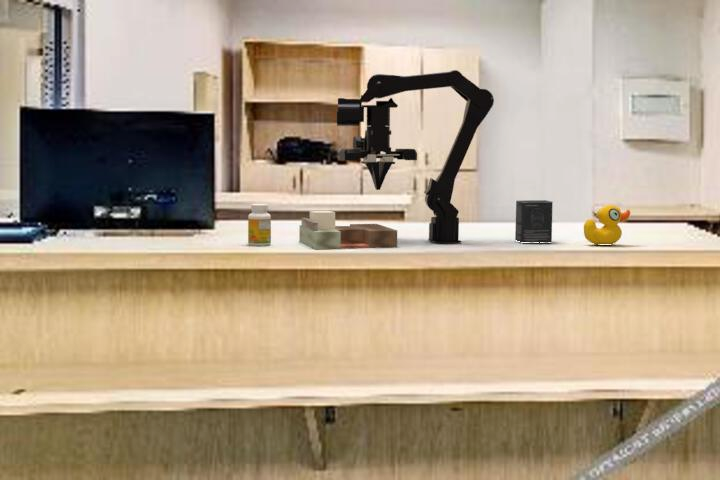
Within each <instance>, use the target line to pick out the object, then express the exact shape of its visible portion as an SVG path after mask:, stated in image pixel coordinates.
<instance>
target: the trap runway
mask: <svg viewBox="0 0 720 480" xmlns="http://www.w3.org/2000/svg"><path fill="white" fill-rule="evenodd" d="M300 220H301V224H300V225H299V239H298V240H299V241H298V242H300V243H301V244H304V245H306V246H308V247H310V248H312V249H314V250H336V249H337V250H339V249H340V250H341V248H348V249H375V248H376V249H377V248H379V249H381V248H385V249H386V248H397V247H398V230H397V229H395V228H391V227H388V226H384V225H381V224H378V223H352V224H351V223H350V224H349V225H339V226H338V225H335V229H321V230H318V223H317V222H315V221H312V220H310V218H307V217H301V219H300Z"/></svg>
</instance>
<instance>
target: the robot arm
mask: <svg viewBox="0 0 720 480" xmlns="http://www.w3.org/2000/svg"><path fill="white" fill-rule="evenodd" d="M441 88H442V89H443V88H451V89H452V90H454V92H456V93H457V94H458V95H459V96H460V97H461V98H462V99H463V100H464V101H466V103H465V106H464V107H465V108H464V113H463V116H462V117H463V118H462V123H461V124H460V125H461V126H460V127H459V130H458V132H457V135H456V137H455V139H454V141H453V144H452V146H451V148H450V150H449V153H448V155H447V157H446V158H445V159H446V160H445V161H444V164H443V167H442V169H441V171H440V174H439V175H437V178H436V179H433V178H432V177H430V178H429V181H428V186H427V188H426V189H425V190H424V192H423V193H424V194H425V196H424V202H425V204H426V206H427V208H428V209H430V211H432V212H433V213H432V214H433V215H434V216H431V218H430V222H429V224H428V240H427V241H429V242H433V243H434V244H451V243H452V244H455V243H456V244H459V243H462V240H459V235H460V234H459V232H460V231H459V230H460V229H459V228H460V226H459V225H460V217H458V215H459V213H460V212H459V210H458V209H457V208H456V207H455V205H454V204H452V202H451V201H452V196H453V192H454V186H455V181H456V179H457V176H458V173H459V171H460V169H461V166H462V165H463V162H464V160H465V158H466V155H467V152H468V150H469V148H470V146H471V143H472V141H473V140H474V136H475V134H476V132H477V129H478V128H479V126H480V125H481V123H482V122H483V121H484V119H485V118H486V117H487V116H488V114H489V112H490V111H491V109H492V108H493V106H494V102H495V99H494V95H493V93H492V92H491V91H489V90H488V89H486V88H480V87H479V86H477V84H475V83H474V82H473V81H471V80H470V79H468V78H467V77H466V76H464V74H462V73H461V71H459V70H456V69H453V70H451V71H450V70H449V71H443V72H432V73H424V74H415V75H414V74H413V75H396V74H394V75H393V74H384V73H376V74H374V75H371V77H369V79H368V81H367V83H366V91H365V92H364V93H363V94H361V95H360V98H343V97H338V98H337V110H336V126H338V127H360V123H365V108H366V130H365V131H364V132H365V133H364V137H362V136H359V135H358V136H355V135H354V136H353V138H352V148H340V150H339V152H338V160H339V161H353V162H355V161H358V162H359V160H360V159H362V160H361V161H360V163H361V164H362V165H363V164H364V165H365V166H366V168H367V170H368V171H369V174H370V177H371V179H372V183H373V185H374V188H375V190H376V191H380V190H381V188H382V185H383V184H384V181H385V179H386V176H387V174H388V172H389V170H390V169H391V167H392V165H396V161H394V159H396V160H398V161H399V160H402V161H403V160H405V161H418V153H417V150H416V149H415V148H395V150H394V151H393V150H392V147H390V146H391V141H390V140H391V139H390V138H391V135H392V130H391V124H390V123H391V109H394V108H395V109H397V108H398V107H399V105H398V104H397V102H395V101H394V99H393V98H392V97H391V96H394V95H398V94H401V93H405V92H411V91H421V90H430V89H431V90H432V89H441ZM387 97H390V98H389V99H388V100H378V99H384V98H387ZM374 99H377V100H376V102H375V104H370V105H369V104H368V105H367V104H365V103H370V102H371V101H373V100H374ZM363 103H364V104H363ZM381 152H382V153H381ZM377 159H379V160H377Z"/></svg>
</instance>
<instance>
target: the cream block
mask: <svg viewBox="0 0 720 480" xmlns="http://www.w3.org/2000/svg"><path fill="white" fill-rule="evenodd" d="M309 219H310V220H312V221H315V222H317V223H318V230H321V229H335V226H336V212H335V211H332V210H309Z"/></svg>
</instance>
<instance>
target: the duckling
mask: <svg viewBox="0 0 720 480" xmlns="http://www.w3.org/2000/svg"><path fill="white" fill-rule="evenodd" d="M630 215H631V211H630V209H626V211H624V212H622V211H621V209H620V208H619V207H618V206H616V205H613V204H611V205H610V204H608V205H605V206H604V207H602V208H601V209H599V210H597V211H596V216H597V218H598V220H599V222H600V223H601V224H602V225H603V226H602V227H600V228H598V227H597V225H596V222H595V220H594V219H592V218H588V219H587V220H586V221H585V222H584V224H583V234H584V238H585V239H586V240H587V241H588V242H589V243H591V244H593V243H594V244H593V245H596V244H613V243H615V244H616V243H617V242H618V241H619V240H620V239H621V237H622V234H623V232H622V229H621V226H620V225H618V224H619V223H620V222H625V221H627V220H628V219H629V218H630ZM613 245H614V244H613Z"/></svg>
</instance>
